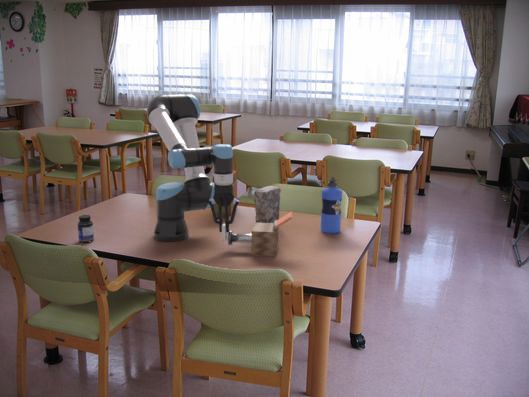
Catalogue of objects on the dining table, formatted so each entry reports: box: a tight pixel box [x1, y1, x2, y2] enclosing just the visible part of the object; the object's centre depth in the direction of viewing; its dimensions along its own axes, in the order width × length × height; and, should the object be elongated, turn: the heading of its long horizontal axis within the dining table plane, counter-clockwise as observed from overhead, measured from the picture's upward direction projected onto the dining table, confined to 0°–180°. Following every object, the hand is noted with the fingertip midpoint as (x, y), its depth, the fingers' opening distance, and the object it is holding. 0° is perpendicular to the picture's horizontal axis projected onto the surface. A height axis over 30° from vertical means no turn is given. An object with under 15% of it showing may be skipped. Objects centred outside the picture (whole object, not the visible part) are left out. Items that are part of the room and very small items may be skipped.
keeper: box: [273, 210, 294, 230], centre depth 216 cm, size 9×9×2 cm
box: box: [212, 170, 238, 217], centre depth 275 cm, size 17×9×20 cm, turn 172°
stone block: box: [253, 185, 281, 223], centre depth 244 cm, size 13×7×20 cm, turn 151°
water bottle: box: [320, 176, 343, 235], centre depth 243 cm, size 9×9×25 cm
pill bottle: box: [77, 214, 95, 243], centre depth 228 cm, size 6×6×11 cm
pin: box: [227, 229, 252, 246], centre depth 219 cm, size 17×6×6 cm, turn 85°
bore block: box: [251, 222, 280, 257], centre depth 218 cm, size 10×12×10 cm
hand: (224, 239), depth 220 cm, fingers closed
